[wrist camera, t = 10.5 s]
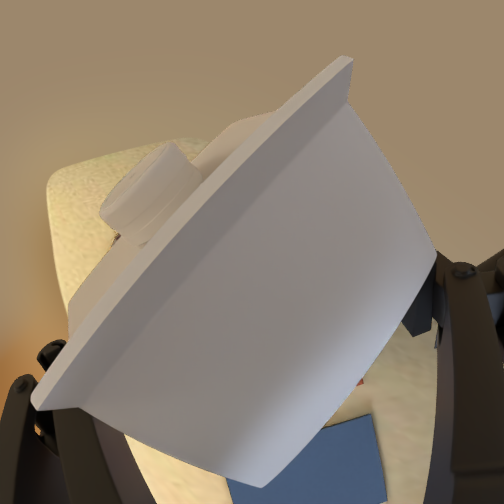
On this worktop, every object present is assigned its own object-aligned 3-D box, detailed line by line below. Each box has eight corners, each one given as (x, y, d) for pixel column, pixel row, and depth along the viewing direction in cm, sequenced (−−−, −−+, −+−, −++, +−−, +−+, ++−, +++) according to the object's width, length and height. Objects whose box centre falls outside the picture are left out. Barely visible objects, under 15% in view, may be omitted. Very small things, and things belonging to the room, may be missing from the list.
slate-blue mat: (369, 413, 25) (370, 413, 24) (386, 499, 21) (387, 500, 21) (218, 449, 25) (217, 450, 24) (244, 533, 21) (243, 535, 21)
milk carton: (343, 325, 21) (529, 172, 3) (279, 406, 20) (237, 593, 2) (264, 266, 23) (202, 10, 5) (200, 342, 22) (-42, 251, 4)
